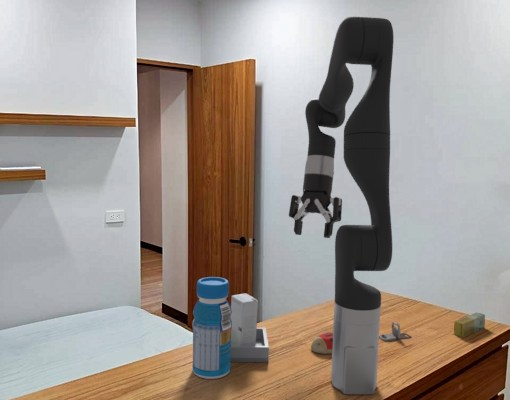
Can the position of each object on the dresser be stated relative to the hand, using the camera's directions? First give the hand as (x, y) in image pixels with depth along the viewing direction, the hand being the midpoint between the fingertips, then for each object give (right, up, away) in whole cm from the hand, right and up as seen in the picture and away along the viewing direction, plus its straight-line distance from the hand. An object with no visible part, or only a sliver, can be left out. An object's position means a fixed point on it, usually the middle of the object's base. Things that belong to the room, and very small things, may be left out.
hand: (312, 236), depth 127 cm
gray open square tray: (-18, -26, -11) cm, 34 cm away
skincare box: (-18, -26, -11) cm, 33 cm away
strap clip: (+22, -27, 0) cm, 34 cm away
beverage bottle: (-24, -28, -21) cm, 43 cm away
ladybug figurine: (+3, -27, -8) cm, 28 cm away
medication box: (+43, -27, +6) cm, 51 cm away
